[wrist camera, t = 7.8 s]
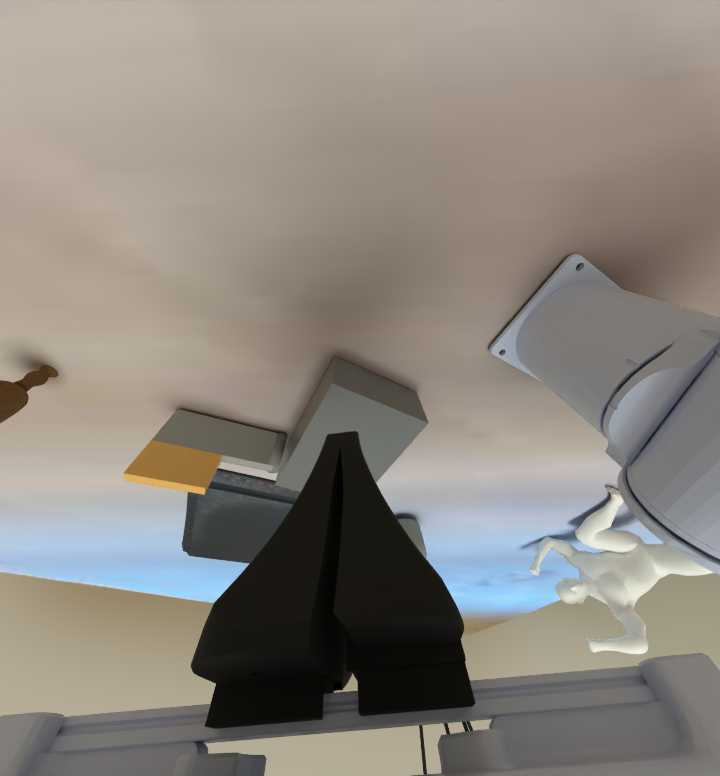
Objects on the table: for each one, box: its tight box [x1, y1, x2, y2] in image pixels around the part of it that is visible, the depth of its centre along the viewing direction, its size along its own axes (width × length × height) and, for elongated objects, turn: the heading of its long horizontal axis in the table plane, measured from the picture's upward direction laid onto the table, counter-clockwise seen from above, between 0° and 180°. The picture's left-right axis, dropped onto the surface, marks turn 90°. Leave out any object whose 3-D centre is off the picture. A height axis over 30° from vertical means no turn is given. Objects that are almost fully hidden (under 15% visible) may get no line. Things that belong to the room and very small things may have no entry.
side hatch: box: [123, 409, 287, 495], centre depth 21 cm, size 1×10×7 cm, turn 68°
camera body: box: [275, 356, 428, 492], centre depth 23 cm, size 8×13×4 cm, turn 152°
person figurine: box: [529, 486, 714, 654], centre depth 34 cm, size 13×13×18 cm
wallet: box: [182, 468, 300, 563], centre depth 34 cm, size 20×2×15 cm
